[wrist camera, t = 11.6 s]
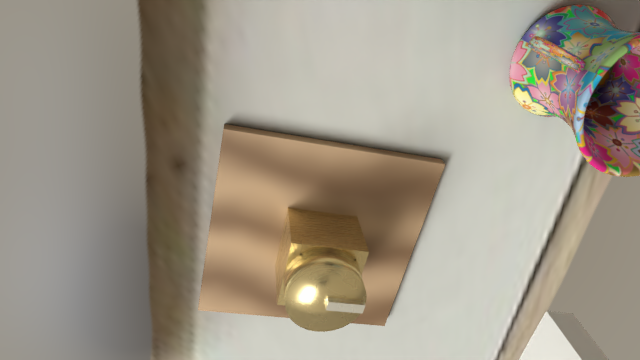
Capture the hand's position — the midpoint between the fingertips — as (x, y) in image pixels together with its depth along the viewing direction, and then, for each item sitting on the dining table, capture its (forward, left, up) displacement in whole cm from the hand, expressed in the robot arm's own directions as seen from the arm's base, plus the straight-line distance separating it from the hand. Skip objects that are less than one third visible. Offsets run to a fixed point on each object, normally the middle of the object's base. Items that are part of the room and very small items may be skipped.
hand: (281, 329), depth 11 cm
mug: (-4, +21, -27) cm, 34 cm away
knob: (+15, +7, -26) cm, 30 cm away
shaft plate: (+15, +7, -27) cm, 31 cm away
